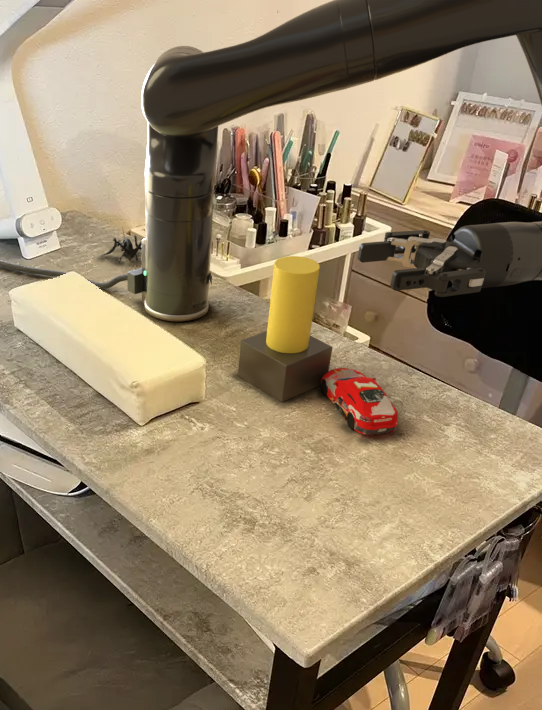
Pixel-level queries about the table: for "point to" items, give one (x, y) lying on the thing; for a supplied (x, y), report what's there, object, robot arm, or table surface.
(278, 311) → the canister
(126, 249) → the creature
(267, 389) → the block
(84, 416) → the table surface
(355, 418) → the race car
